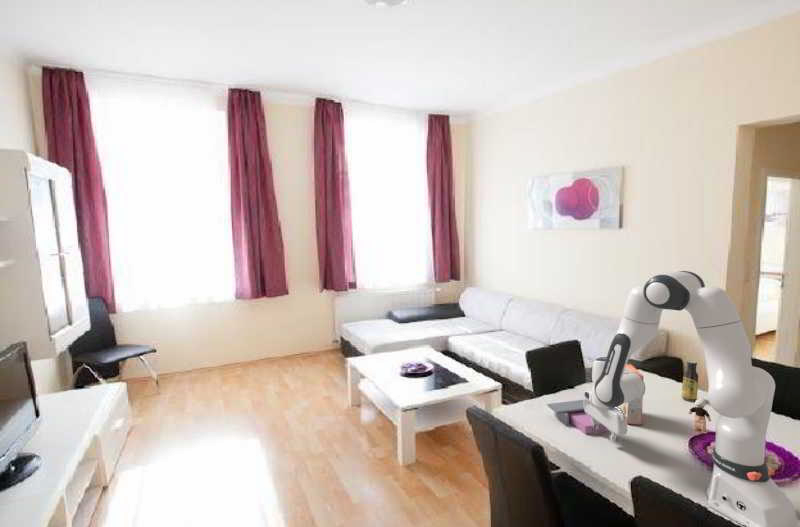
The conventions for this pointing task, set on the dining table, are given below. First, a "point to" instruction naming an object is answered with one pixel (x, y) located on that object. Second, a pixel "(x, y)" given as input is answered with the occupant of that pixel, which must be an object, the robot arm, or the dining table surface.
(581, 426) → the pink rectangular block
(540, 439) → the dining table surface
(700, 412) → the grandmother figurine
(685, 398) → the sauce bottle
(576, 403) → the bridge dock
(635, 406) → the cracker box
